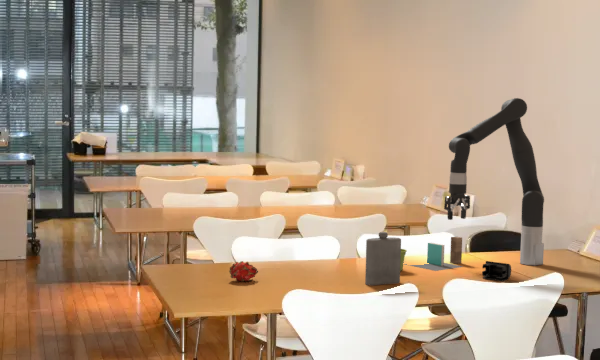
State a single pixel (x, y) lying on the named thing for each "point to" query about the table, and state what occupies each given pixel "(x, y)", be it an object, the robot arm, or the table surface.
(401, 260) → the plant pot
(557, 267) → the table surface
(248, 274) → the dragon fruit
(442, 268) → the mat
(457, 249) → the walnut stick
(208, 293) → the table surface
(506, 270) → the end cap
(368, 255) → the flask
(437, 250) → the tile
